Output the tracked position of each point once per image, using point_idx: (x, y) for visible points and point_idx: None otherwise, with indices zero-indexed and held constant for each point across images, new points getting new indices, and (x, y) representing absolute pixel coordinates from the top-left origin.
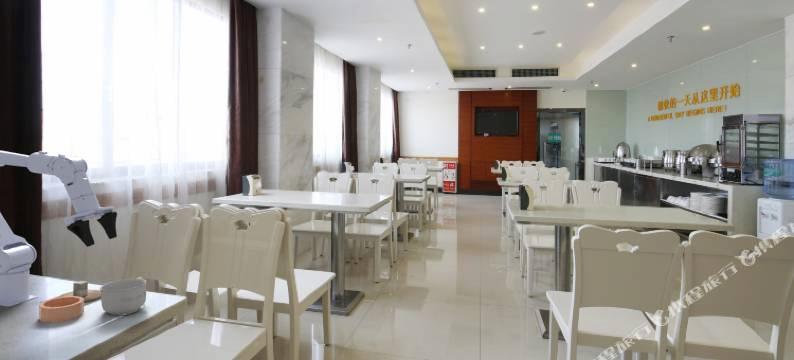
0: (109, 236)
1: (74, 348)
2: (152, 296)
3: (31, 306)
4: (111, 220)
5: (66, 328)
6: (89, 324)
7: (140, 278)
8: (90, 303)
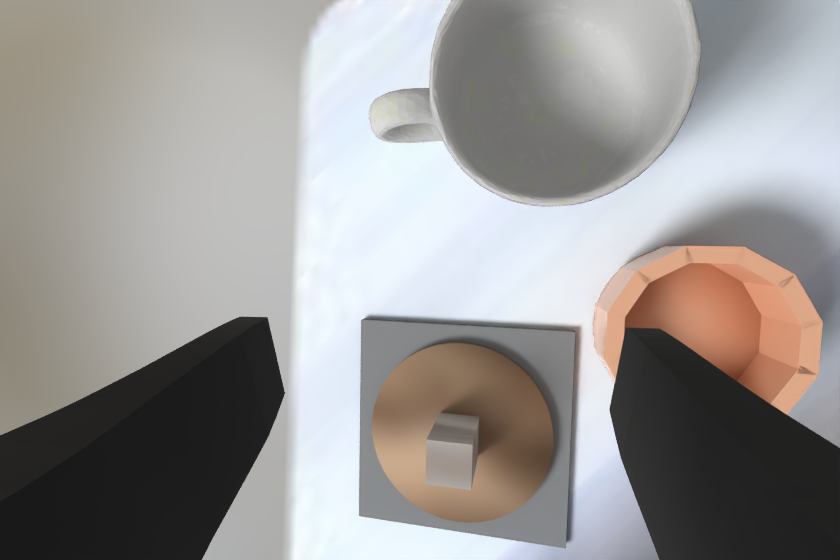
0: (267, 409)
1: None
2: (340, 153)
3: (599, 553)
4: (12, 506)
5: (800, 194)
6: (729, 137)
7: (405, 90)
8: (512, 329)
